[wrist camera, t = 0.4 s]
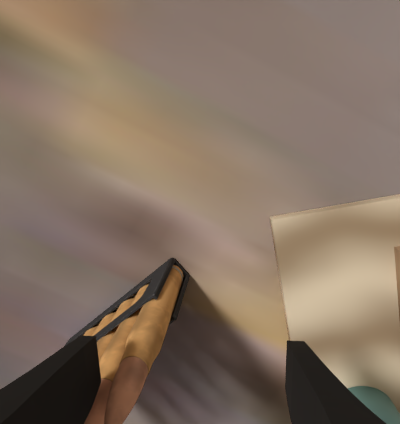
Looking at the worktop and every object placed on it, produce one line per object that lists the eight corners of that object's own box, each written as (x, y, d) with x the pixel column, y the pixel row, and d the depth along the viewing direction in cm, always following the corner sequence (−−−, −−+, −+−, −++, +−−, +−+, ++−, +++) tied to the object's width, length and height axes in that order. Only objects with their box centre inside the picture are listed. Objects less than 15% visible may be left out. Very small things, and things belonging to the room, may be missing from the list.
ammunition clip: (173, 256, 21) (108, 399, 10) (191, 275, 21) (148, 439, 10) (69, 339, 23) (-86, 537, 12) (86, 356, 24) (-50, 567, 12)
